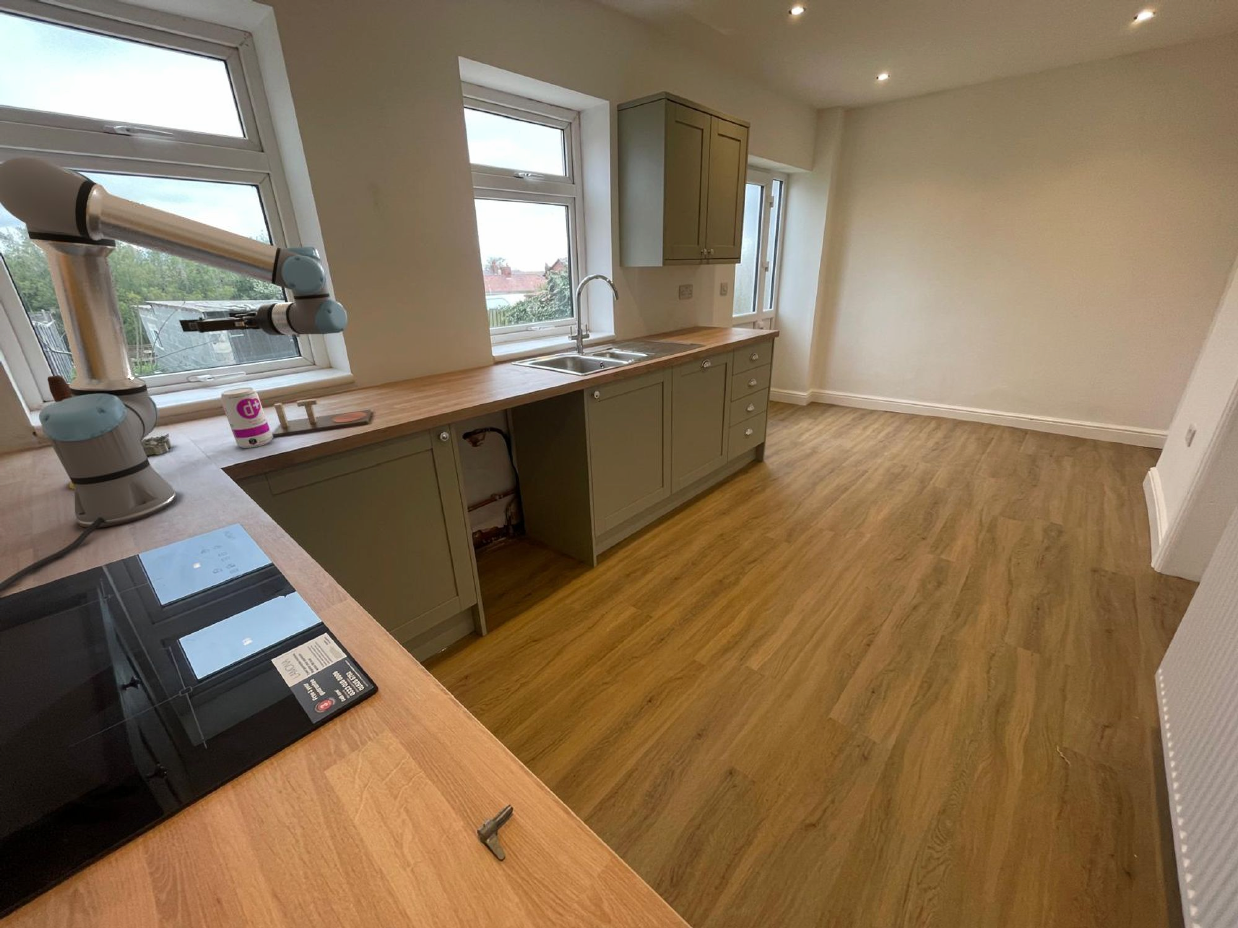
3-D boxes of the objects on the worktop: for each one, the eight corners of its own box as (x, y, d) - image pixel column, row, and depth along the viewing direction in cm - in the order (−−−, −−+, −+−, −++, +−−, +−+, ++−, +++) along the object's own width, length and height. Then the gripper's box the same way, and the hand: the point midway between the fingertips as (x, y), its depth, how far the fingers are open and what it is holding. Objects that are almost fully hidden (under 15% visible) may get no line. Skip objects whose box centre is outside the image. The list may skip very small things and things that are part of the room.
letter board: (368, 423, 151) (361, 398, 148) (273, 437, 144) (264, 410, 141) (371, 412, 163) (365, 388, 159) (283, 424, 155) (275, 399, 152)
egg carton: (116, 461, 131) (109, 447, 130) (129, 452, 138) (122, 438, 136) (166, 453, 135) (159, 439, 133) (176, 445, 141) (170, 431, 140)
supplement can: (278, 440, 141) (261, 388, 135) (246, 450, 134) (226, 396, 128) (264, 436, 145) (247, 385, 139) (232, 445, 138) (212, 393, 133)
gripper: (245, 344, 112) (166, 346, 116) (322, 327, 135) (253, 329, 138) (233, 309, 109) (152, 312, 113) (314, 298, 132) (244, 300, 135)
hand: (208, 321), depth 125 cm, fingers open, 13 cm apart
